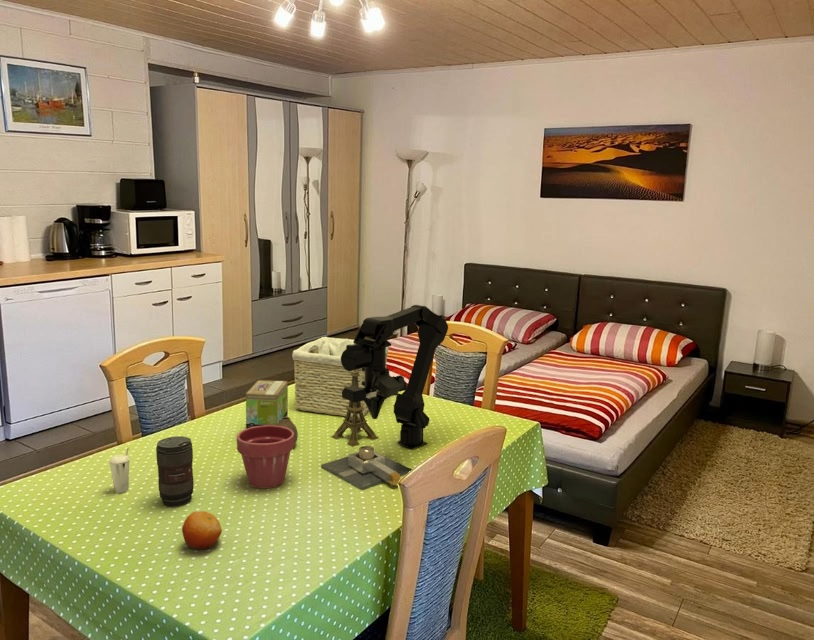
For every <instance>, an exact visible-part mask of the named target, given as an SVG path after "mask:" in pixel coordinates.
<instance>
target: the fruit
mask: <svg viewBox="0 0 814 640" xmlns="http://www.w3.org/2000/svg"><path fill="white" fill-rule="evenodd" d="M181 528H182V529H181V531H182V536H183V540H184V542H185V547H184V548H183V550H184V551H185V550H186V549H187V548H192V549H196V550H208V549H210V548H211V547H213V546H214V545H215V544H216V542H217V541H218V539H220V536H221V535H222V531H223V530H222V526H221V523H220V521H219V519H218V518H217V517H216V516H215V515H214V514H213V513H211V512H207V511H204V510H203V511H202V510H201V511H194V512H193V511H192V512H191V513H190V514H189V515H188V516H187V517H186V518H185V520H184V522H183V524H182V527H181Z"/></svg>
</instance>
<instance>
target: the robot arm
mask: <svg viewBox="0 0 814 640" xmlns="http://www.w3.org/2000/svg"><path fill="white" fill-rule="evenodd" d="M412 324H414V325H415V326H417V336H418V341H419V346H418V348H417V351H416V355H415V359H414V362H413V364H412V365H413V366H412V369H411V371H410V372H411V373H410V376H409V378H408V382H406V380H405V377H404V376H403V375H401V374H400V375H395V376H394V375H393V376H391V374H390V370H389V368H388V367H387V363H386V347H389V348H390V347H392V343H391V342H390V341H388V339H390V338H391V337H393V336H394V333H395V332H396V331H399V330H400V329H403V328H405V327H408V326H410V325H412ZM448 330H449V325H448V322H447V320H446V319H445V318H442V317H441V316H440V315H438V314H437V313H436V312H434V311H432V310H431V309H430V308H429V307H427V306H425V305H420V304H413V305H411V306H410V307H408V308H405V309H402V310H399V311H397V312H395V313H391V314H389V315H385V316H370V317H366V318H364V319H363V321H362V324H361V326H360V328H359V330H358V331H357V333H356V335H355V338H354V339H353V340H354V341H353V343H354V344H353V345H347V346H346V350H345V351H344V352H343V353H342V356H341V364H342V366H343V367H344V369H345V370H347V371H353V370H357V369H361V368H362V371H364V372H365V381H362V385H363V386H365V388H360V387H357V386H350V387H345V388H344V389H343V390H342V398H344V399H347V400H349V401H352V402H359V401H364V402H365V403H366V405H367V407H368V410H369V412H368V413H369V414H370V416H371V418H372V419H373V420H377V419H378V416H379V414H380V411H381V409H382V407H383V405H384V402H385V401H386V400H387V399H388V398H390V397H392V396H395V402H394V404H393V414H394V417H395V421H396V423H398V424H401V425H400V427H401V428H400V431H399V440H398V441H397V444H398V445H401V446H403V447H406V448H408V449H410V450H414V449H416V448H419V447H422V446H425V445H427V443H428V442H427V441H424V429H426V427H428V426H429V424H430V417H429V416H428V415H427V414H426V413H425V412H424V409H425V401H424V397H423V393H424V390H425V385H426V383H427V380H428V377H429V373H430V370H431V365H432V362H433V359H434V355H435V352H436V349H437V348H438V347H439V346H440V345H441V344H442V343H443V342H444V340H445V338H446V336H447V334H448ZM399 392H402V393H399Z"/></svg>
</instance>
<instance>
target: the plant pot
mask: <svg viewBox="0 0 814 640" xmlns="http://www.w3.org/2000/svg"><path fill="white" fill-rule="evenodd" d="M294 447H295V445H294V432H293V431H292V430H291V429H289V428H286V427H283V426H275V425H263V426H255V427H251V428H247V429H246V428H245V429H242V430H241V431H239V432H238V433H237V435H236V450H237V451H238V452H237V453H239V454H241V459H242V462H243V466H244V471H245V474H246V477H247V481H248V484H249V485H250V486H252V487H254V488H259V489H270V488H271V489H272V488H275V487H278V486H281V485H282V484H283V483H284V481H285V478H286V474H287V469H288V466H289V461H290V455H291V451H292V450H294Z"/></svg>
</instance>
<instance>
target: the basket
mask: <svg viewBox="0 0 814 640" xmlns="http://www.w3.org/2000/svg"><path fill="white" fill-rule="evenodd" d="M353 341H354V339H349V338H337V337H329V336H321V338H318V339H315V340H313V341H309V342H307V343H305V344H304V345H302V346H300V347H299V348H297V349H294V350H293V351H292V354H291V355H292V360H293V362H294V363H293V364H294V365H293V366H294V368H293V369H294V394H295V396H294V397H295V398H294V400H295V404H294V406H295V409H296V410H299V411H300V410H301V411H303V412H312V413H316V414H328V415H331V416H343V417H346V414H347V411H348V409H347V408H346V407H347V406H349V400H347V399H344V398H342V390H343V389H344V388H345V387H350V386H351V384H352V376H351V375H350V374H351V373H352V371H347V370H345V369H344V367H343V366H342V364H341V356H342V353H343V352H344V351H345V350H346V346H347V345H353V344H354V343H353ZM389 348H390V346H389V347H386V364H387V362H388V360H387V359H388V353H389ZM311 351H312V352H311ZM353 371H354V370H353ZM356 371H357V372H359V374H360V375H359V376H358V384H359V387H360V388H365V386H363V385H362V381H365V372H364V371H362V368H361V369H357V370H356ZM361 406H363V408H364V409H363V410H362V412H363V415H364V417H365V416H366V415H367V413H370V412H369V410H368V407H367V405H366V403H365V402H364V401H361ZM357 415H358V418H360V416H359V413H358V414H357ZM350 418H353V413H351V415H350Z"/></svg>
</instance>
